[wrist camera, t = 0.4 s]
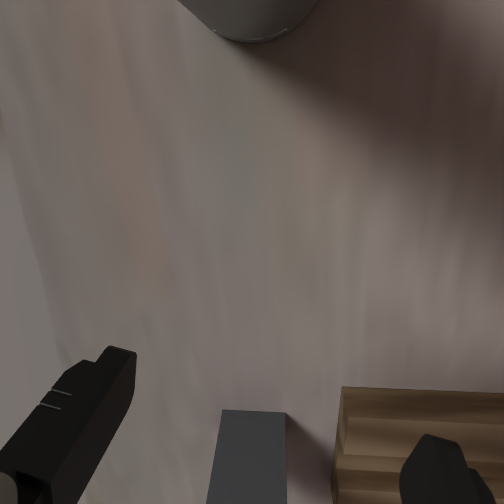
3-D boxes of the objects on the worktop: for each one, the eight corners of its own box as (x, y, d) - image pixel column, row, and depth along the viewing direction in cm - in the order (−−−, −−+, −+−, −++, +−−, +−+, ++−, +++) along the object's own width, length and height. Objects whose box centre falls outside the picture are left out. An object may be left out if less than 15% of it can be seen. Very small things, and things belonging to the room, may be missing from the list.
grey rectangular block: (222, 409, 36) (191, 584, 23) (285, 412, 36) (288, 592, 23) (223, 434, 38) (195, 612, 25) (284, 437, 37) (287, 620, 24)
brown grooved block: (341, 386, 34) (348, 417, 31) (598, 397, 33) (632, 431, 30) (330, 483, 39) (335, 518, 36) (552, 497, 38) (577, 534, 35)
